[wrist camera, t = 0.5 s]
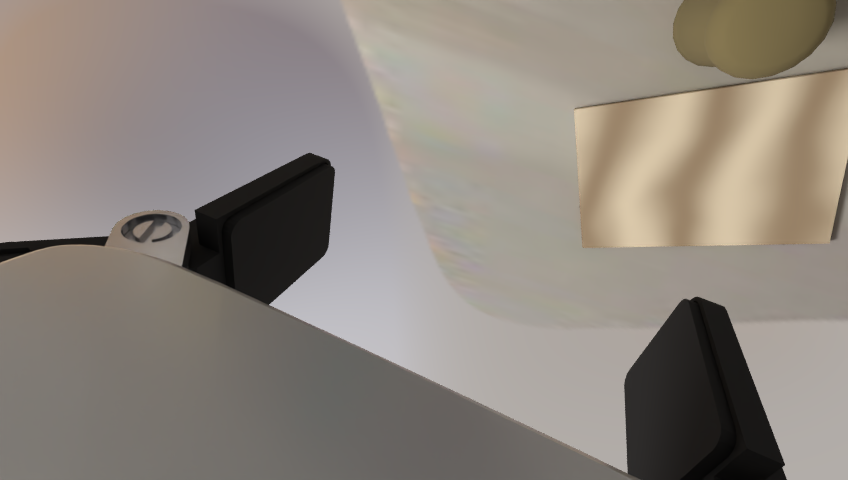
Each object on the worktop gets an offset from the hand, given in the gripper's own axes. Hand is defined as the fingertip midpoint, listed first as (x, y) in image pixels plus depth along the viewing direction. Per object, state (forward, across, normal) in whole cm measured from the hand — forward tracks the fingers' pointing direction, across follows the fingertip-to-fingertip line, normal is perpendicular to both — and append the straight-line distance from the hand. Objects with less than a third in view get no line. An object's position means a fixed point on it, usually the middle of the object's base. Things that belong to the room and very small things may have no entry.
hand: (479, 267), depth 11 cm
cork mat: (+29, -12, +4) cm, 31 cm away
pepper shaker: (+29, -8, -7) cm, 31 cm away
